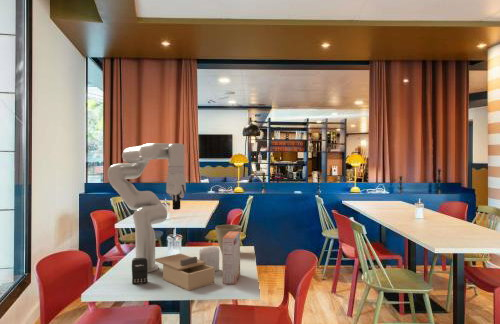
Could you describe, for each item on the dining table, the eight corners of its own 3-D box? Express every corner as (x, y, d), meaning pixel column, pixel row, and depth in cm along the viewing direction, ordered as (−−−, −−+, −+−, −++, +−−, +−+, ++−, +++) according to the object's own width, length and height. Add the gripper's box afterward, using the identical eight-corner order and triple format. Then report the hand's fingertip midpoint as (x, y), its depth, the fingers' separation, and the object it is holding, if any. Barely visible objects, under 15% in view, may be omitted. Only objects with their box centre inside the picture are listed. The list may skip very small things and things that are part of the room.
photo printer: (216, 268, 186) (216, 244, 186) (220, 270, 182) (220, 245, 182) (197, 272, 180) (197, 246, 180) (201, 274, 177) (201, 248, 177)
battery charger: (131, 285, 161) (131, 259, 161) (132, 282, 165) (131, 257, 165) (147, 284, 163) (147, 258, 163) (148, 281, 167) (148, 256, 166)
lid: (154, 260, 174) (154, 254, 174) (180, 255, 184) (180, 248, 184) (178, 270, 159) (178, 263, 159) (205, 263, 169) (205, 256, 169)
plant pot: (240, 250, 222) (240, 224, 221) (241, 257, 207) (241, 229, 207) (215, 251, 221) (215, 224, 220) (215, 257, 206) (215, 229, 206)
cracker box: (228, 274, 177) (228, 230, 177) (240, 274, 176) (240, 231, 176) (221, 284, 163) (221, 237, 163) (234, 284, 162) (234, 237, 162)
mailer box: (163, 279, 169) (163, 264, 169) (188, 273, 179) (188, 258, 178) (188, 291, 154) (188, 274, 154) (214, 283, 164) (214, 267, 164)
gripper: (160, 169, 174) (160, 208, 174) (178, 170, 163) (178, 211, 163) (174, 169, 179) (174, 207, 179) (192, 170, 168) (192, 210, 168)
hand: (176, 209), depth 171 cm, fingers closed
